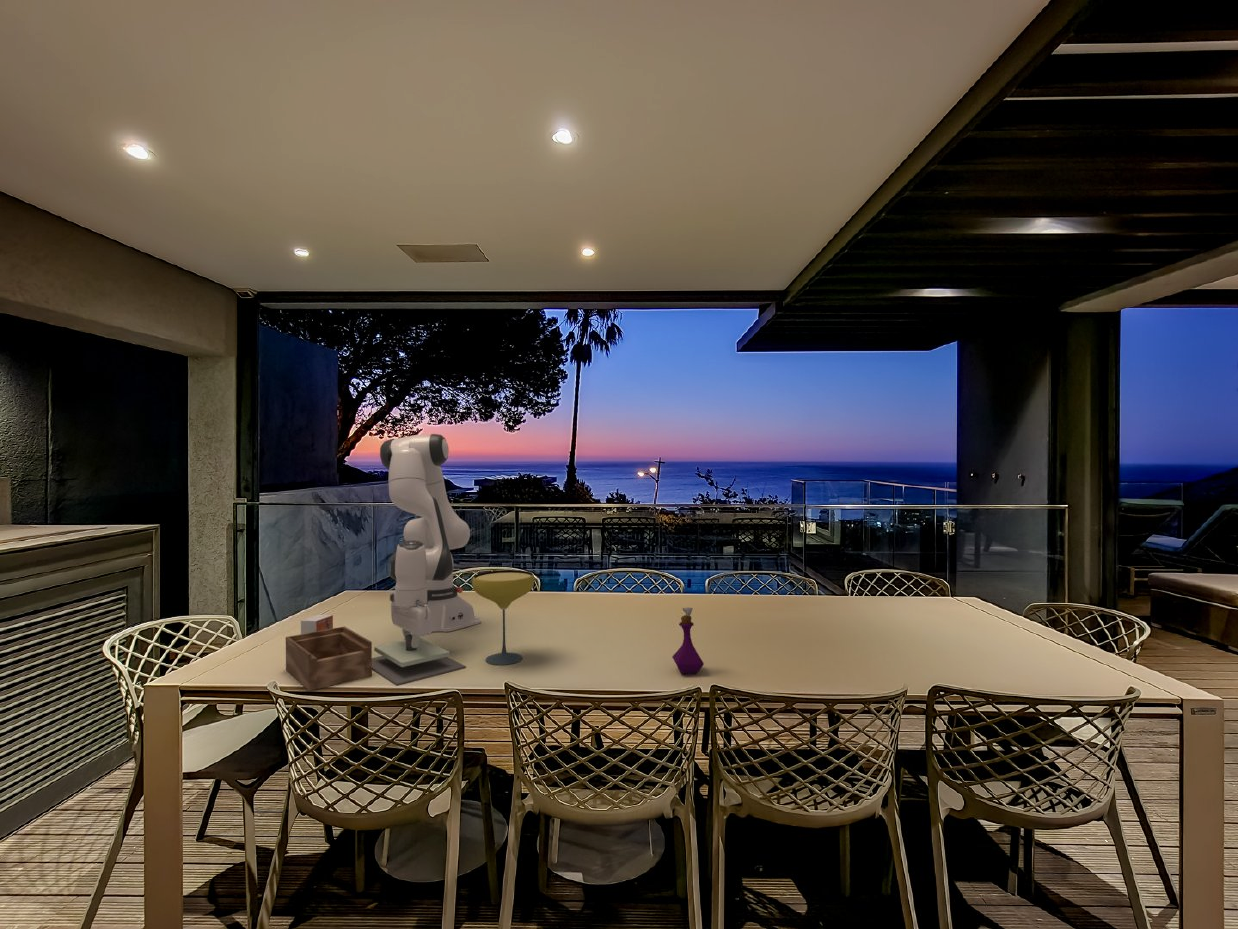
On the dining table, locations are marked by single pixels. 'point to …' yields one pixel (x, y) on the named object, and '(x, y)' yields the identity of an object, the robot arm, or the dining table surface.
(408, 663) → the lid
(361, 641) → the walnut box
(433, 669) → the mat
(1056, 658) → the dining table surface
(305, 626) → the small box
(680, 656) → the perfume bottle
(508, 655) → the cocktail glass
